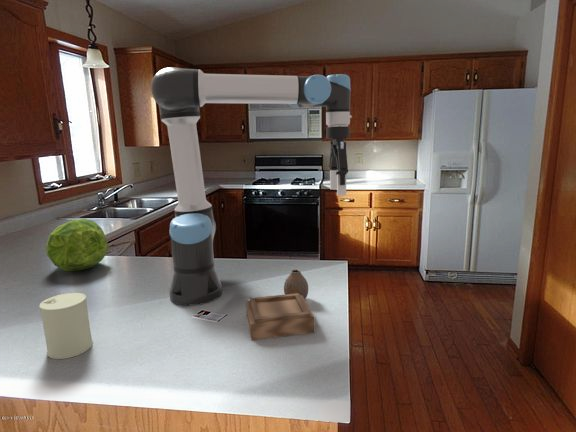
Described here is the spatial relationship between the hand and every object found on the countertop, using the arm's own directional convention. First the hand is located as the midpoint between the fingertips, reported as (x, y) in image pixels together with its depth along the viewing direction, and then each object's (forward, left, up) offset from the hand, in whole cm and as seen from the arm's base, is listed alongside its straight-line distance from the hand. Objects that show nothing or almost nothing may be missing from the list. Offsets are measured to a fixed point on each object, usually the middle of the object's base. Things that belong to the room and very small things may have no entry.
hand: (337, 192), depth 132 cm
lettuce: (-91, +25, -27) cm, 98 cm away
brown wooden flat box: (-26, -35, -27) cm, 51 cm away
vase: (-19, -22, -27) cm, 40 cm away
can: (-74, -35, -27) cm, 86 cm away
